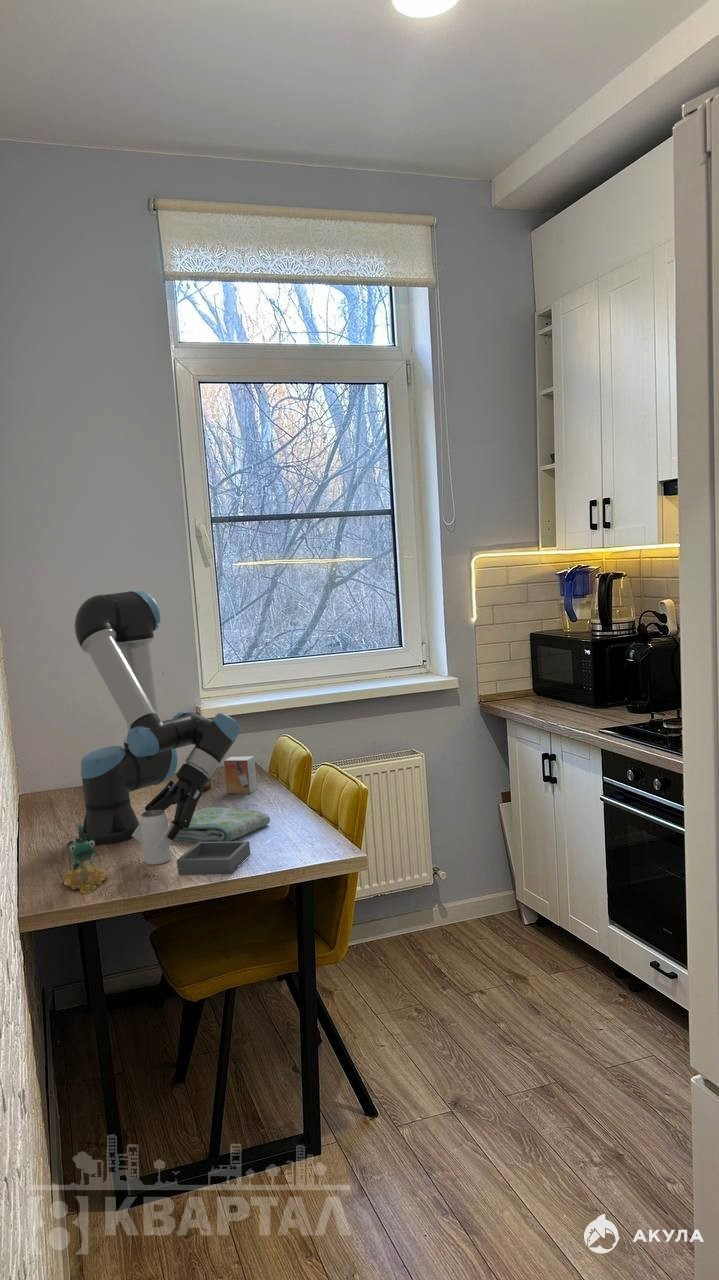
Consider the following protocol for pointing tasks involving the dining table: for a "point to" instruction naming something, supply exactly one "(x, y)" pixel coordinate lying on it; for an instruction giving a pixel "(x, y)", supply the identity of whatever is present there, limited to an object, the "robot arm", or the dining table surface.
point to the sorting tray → (213, 858)
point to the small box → (240, 774)
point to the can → (154, 836)
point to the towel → (222, 824)
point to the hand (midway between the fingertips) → (147, 844)
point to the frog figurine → (83, 866)
